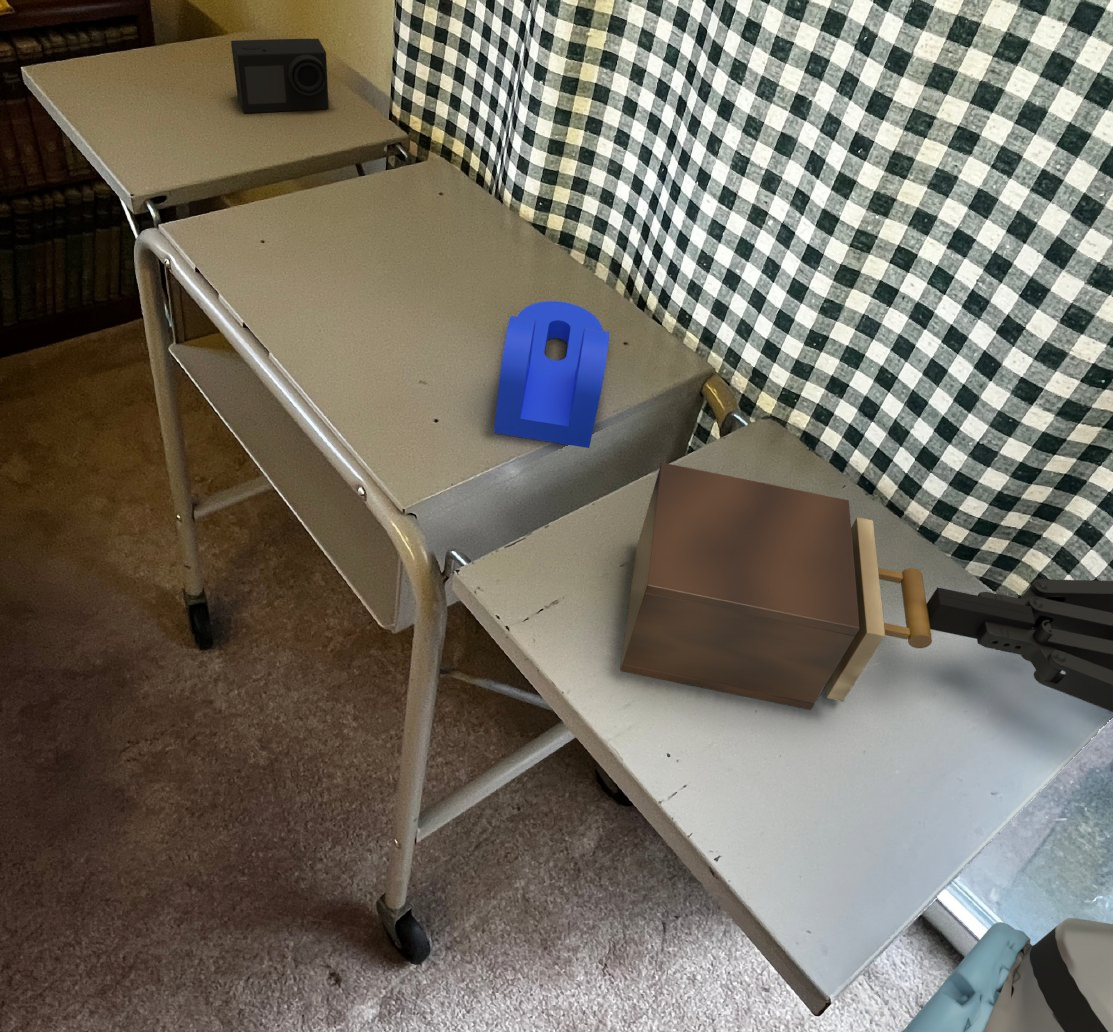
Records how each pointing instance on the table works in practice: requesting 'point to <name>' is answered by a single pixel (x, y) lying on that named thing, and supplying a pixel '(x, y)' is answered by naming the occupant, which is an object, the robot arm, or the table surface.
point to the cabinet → (741, 587)
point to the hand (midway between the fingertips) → (930, 607)
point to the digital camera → (280, 75)
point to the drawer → (877, 611)
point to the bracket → (551, 375)
